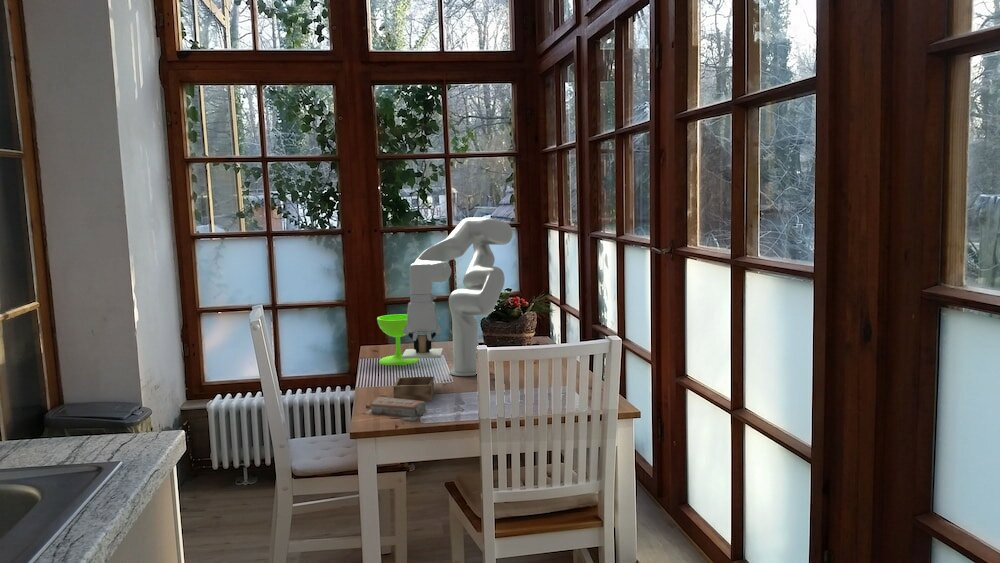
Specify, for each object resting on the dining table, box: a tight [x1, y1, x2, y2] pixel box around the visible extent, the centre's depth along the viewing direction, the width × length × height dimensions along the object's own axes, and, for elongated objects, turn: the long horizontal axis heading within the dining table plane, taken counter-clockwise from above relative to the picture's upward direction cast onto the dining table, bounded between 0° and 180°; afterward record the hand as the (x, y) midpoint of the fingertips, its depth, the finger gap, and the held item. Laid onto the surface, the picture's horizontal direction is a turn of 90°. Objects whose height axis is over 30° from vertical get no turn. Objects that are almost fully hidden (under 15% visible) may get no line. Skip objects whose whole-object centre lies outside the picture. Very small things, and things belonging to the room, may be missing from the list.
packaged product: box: [365, 396, 429, 422], centre depth 235 cm, size 18×5×10 cm
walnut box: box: [393, 376, 435, 403], centre depth 251 cm, size 12×12×6 cm
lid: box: [402, 333, 444, 359], centre depth 265 cm, size 13×13×7 cm
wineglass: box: [376, 313, 419, 366], centre depth 310 cm, size 16×16×18 cm
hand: (422, 351), depth 265 cm, fingers closed on lid, 3 cm apart
